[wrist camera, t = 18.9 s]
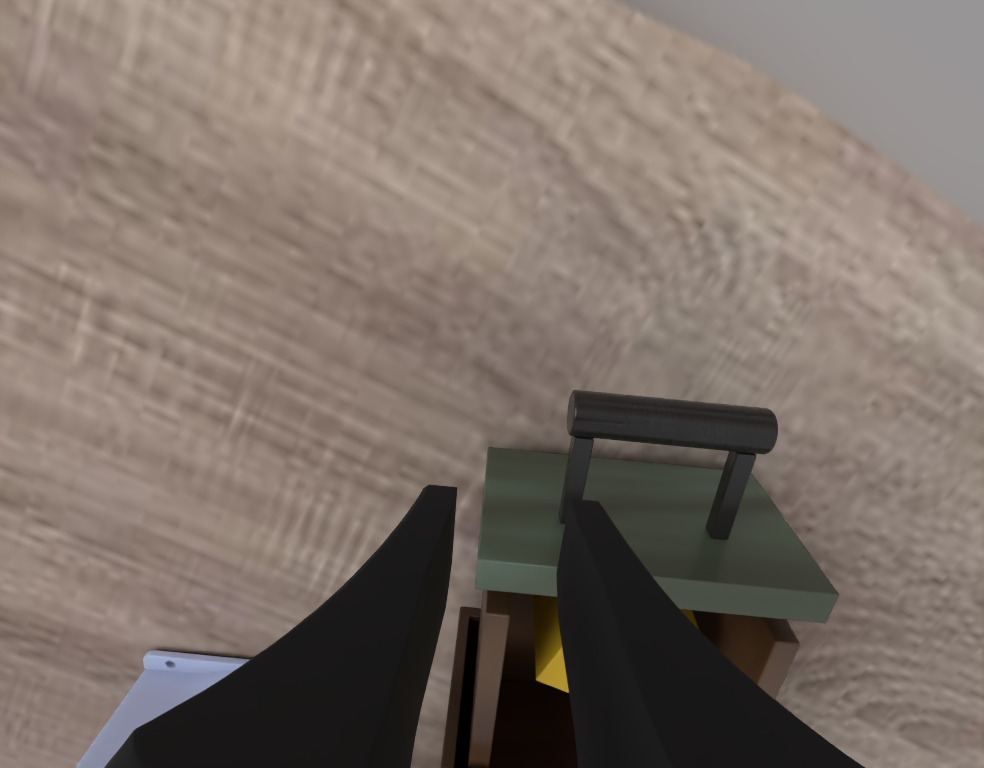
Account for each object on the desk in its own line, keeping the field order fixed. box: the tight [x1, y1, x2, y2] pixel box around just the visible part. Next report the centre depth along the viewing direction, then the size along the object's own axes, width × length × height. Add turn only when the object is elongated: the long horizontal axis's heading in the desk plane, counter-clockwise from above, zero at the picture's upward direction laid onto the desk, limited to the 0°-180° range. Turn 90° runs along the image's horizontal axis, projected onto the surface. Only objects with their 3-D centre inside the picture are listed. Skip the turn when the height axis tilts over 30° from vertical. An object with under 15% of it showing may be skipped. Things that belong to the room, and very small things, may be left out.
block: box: [533, 595, 699, 693], centre depth 21 cm, size 4×4×4 cm
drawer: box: [467, 390, 839, 768], centre depth 21 cm, size 18×11×6 cm, turn 175°
